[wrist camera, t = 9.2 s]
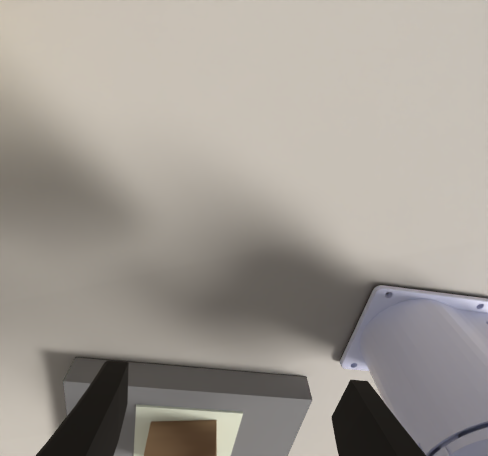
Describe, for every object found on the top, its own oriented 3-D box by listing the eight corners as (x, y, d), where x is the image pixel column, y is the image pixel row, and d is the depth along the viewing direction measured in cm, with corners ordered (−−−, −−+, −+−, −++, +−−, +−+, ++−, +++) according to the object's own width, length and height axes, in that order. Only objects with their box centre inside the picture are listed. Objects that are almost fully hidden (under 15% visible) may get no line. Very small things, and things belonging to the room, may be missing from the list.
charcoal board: (306, 376, 26) (312, 401, 24) (273, 457, 31) (276, 483, 29) (75, 357, 24) (62, 383, 22) (82, 448, 29) (72, 475, 27)
